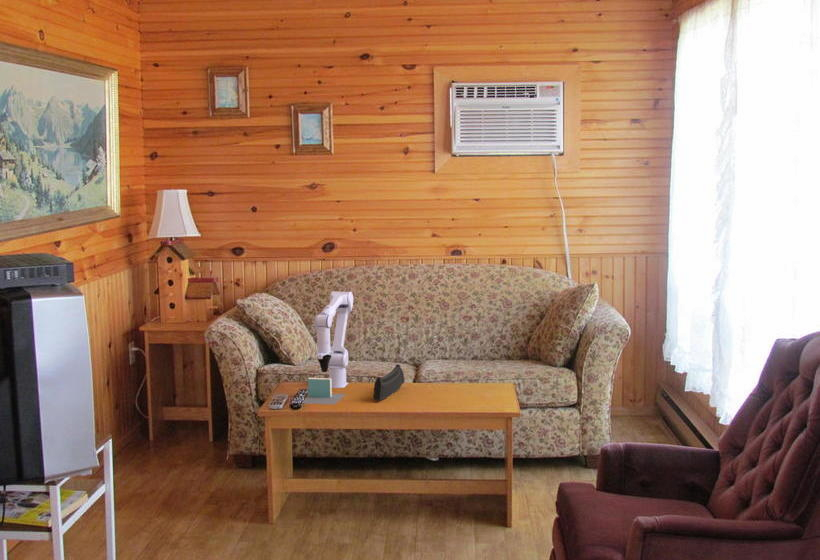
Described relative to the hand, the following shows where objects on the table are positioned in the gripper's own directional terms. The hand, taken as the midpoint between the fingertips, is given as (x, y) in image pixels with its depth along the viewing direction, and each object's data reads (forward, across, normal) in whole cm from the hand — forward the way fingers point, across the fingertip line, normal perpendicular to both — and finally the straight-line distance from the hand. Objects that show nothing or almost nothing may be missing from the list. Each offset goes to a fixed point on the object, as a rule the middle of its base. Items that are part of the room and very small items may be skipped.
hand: (324, 371), depth 406 cm
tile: (+10, -6, +1) cm, 11 cm away
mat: (+10, -8, +1) cm, 13 cm away
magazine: (+11, +4, -28) cm, 31 cm away
